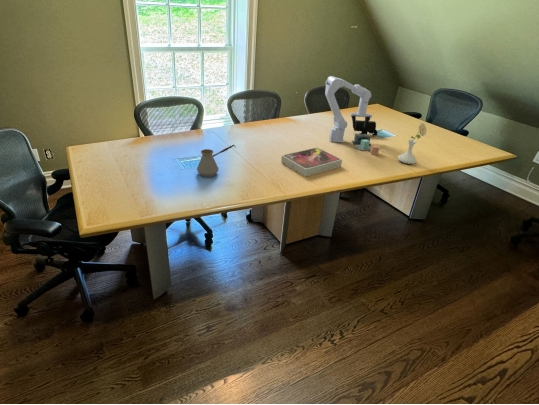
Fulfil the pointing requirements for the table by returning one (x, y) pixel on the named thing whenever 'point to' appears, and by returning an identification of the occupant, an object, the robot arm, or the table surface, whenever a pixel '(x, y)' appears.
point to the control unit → (361, 138)
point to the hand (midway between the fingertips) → (358, 127)
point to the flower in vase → (408, 156)
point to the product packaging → (311, 161)
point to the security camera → (369, 127)
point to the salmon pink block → (374, 150)
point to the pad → (362, 149)
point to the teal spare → (364, 144)
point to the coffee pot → (209, 162)
